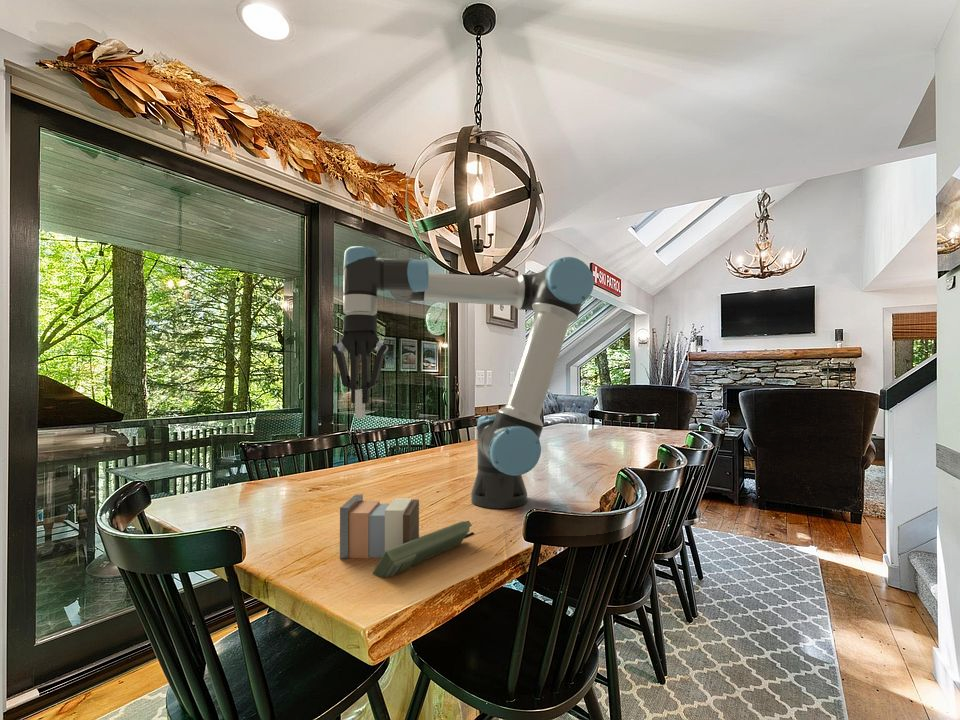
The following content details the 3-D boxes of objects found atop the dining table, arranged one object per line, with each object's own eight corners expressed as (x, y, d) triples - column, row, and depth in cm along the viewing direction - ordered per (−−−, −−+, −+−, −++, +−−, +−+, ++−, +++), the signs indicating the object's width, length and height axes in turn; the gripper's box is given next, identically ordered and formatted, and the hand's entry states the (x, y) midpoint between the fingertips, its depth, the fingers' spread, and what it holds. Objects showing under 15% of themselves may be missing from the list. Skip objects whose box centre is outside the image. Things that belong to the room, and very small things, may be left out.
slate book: (394, 542, 88) (394, 503, 88) (385, 557, 81) (385, 515, 81) (379, 542, 88) (379, 503, 88) (368, 557, 81) (368, 515, 81)
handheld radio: (367, 573, 75) (465, 532, 94) (377, 590, 73) (475, 545, 92) (383, 547, 72) (480, 510, 92) (394, 564, 71) (490, 523, 90)
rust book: (379, 541, 88) (379, 500, 89) (368, 558, 80) (368, 513, 81) (361, 541, 88) (362, 500, 89) (348, 558, 80) (349, 513, 81)
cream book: (412, 541, 88) (412, 498, 88) (404, 558, 80) (404, 510, 80) (394, 541, 88) (394, 498, 89) (384, 558, 80) (384, 510, 81)
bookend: (362, 540, 89) (362, 494, 89) (348, 558, 80) (348, 507, 80) (355, 540, 89) (355, 494, 89) (339, 558, 80) (339, 507, 80)
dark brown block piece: (419, 545, 89) (418, 499, 89) (409, 567, 79) (409, 515, 79) (314, 545, 90) (315, 499, 90) (292, 566, 80) (293, 514, 80)
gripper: (392, 317, 107) (392, 416, 106) (338, 317, 107) (337, 416, 106) (384, 312, 99) (384, 419, 98) (326, 313, 100) (325, 419, 99)
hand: (360, 417), depth 102 cm, fingers closed
